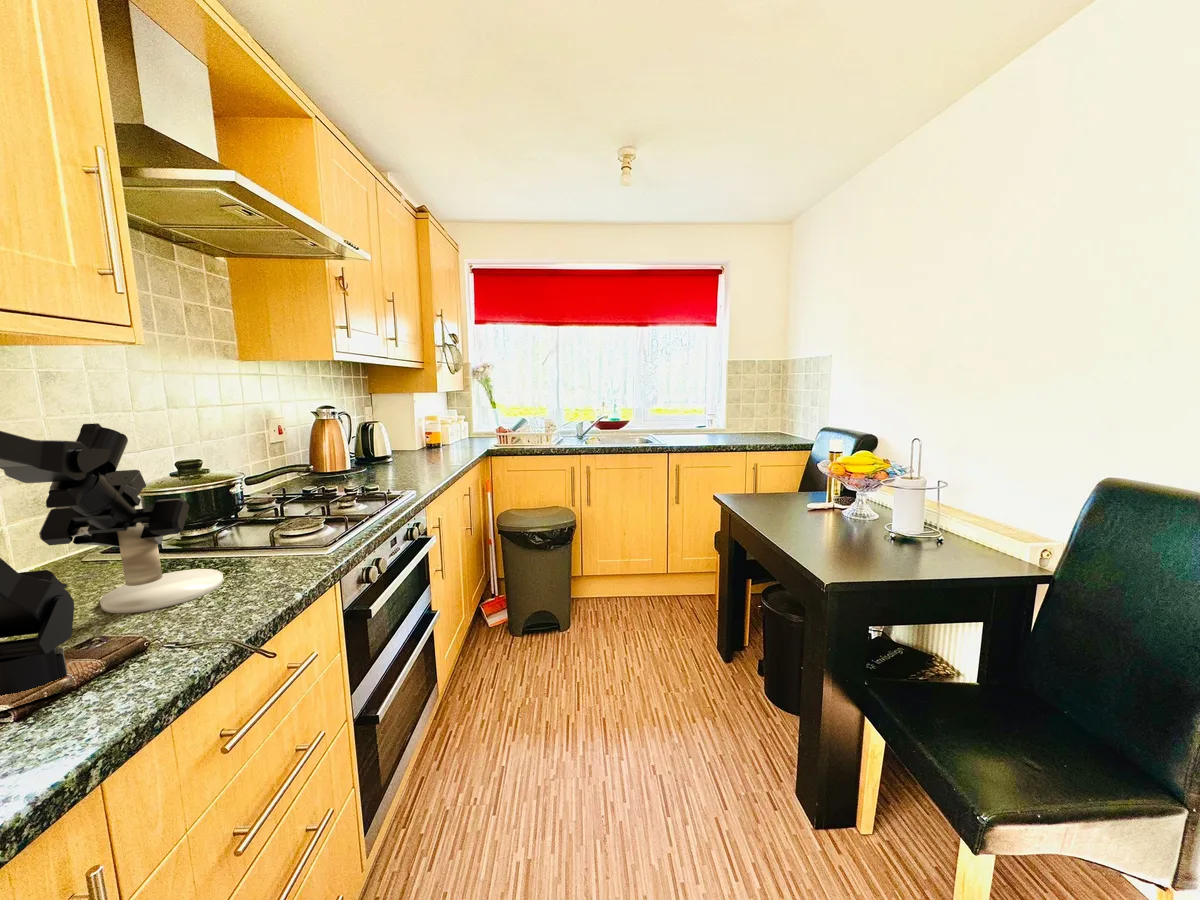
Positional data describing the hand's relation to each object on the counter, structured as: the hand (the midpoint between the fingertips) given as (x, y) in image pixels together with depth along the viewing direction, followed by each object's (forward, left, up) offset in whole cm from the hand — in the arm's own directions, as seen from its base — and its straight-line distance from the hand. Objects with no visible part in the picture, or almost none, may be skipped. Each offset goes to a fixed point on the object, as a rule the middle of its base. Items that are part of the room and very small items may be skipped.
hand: (143, 543), depth 92 cm
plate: (+2, +4, -11) cm, 12 cm away
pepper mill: (-1, -1, -7) cm, 7 cm away
